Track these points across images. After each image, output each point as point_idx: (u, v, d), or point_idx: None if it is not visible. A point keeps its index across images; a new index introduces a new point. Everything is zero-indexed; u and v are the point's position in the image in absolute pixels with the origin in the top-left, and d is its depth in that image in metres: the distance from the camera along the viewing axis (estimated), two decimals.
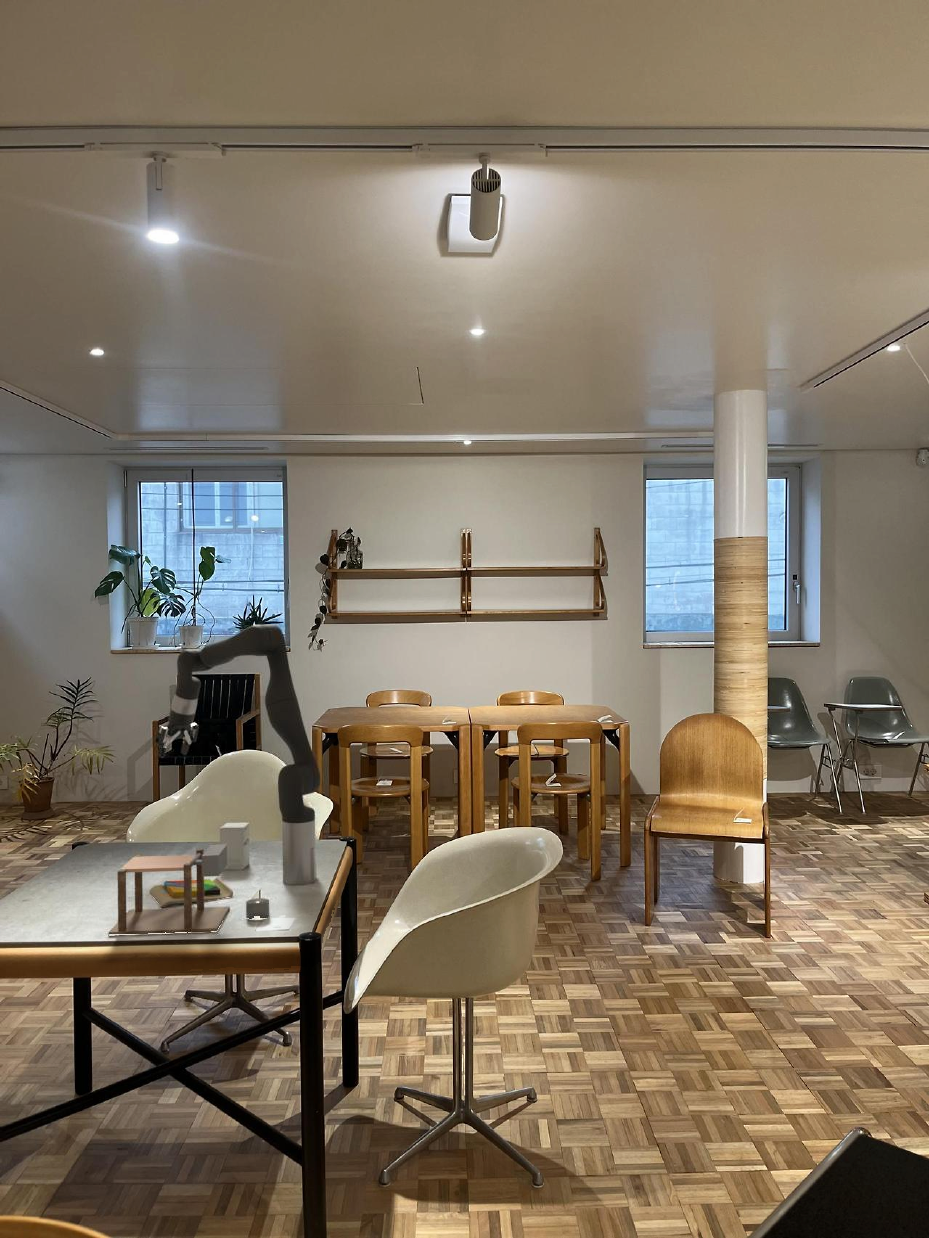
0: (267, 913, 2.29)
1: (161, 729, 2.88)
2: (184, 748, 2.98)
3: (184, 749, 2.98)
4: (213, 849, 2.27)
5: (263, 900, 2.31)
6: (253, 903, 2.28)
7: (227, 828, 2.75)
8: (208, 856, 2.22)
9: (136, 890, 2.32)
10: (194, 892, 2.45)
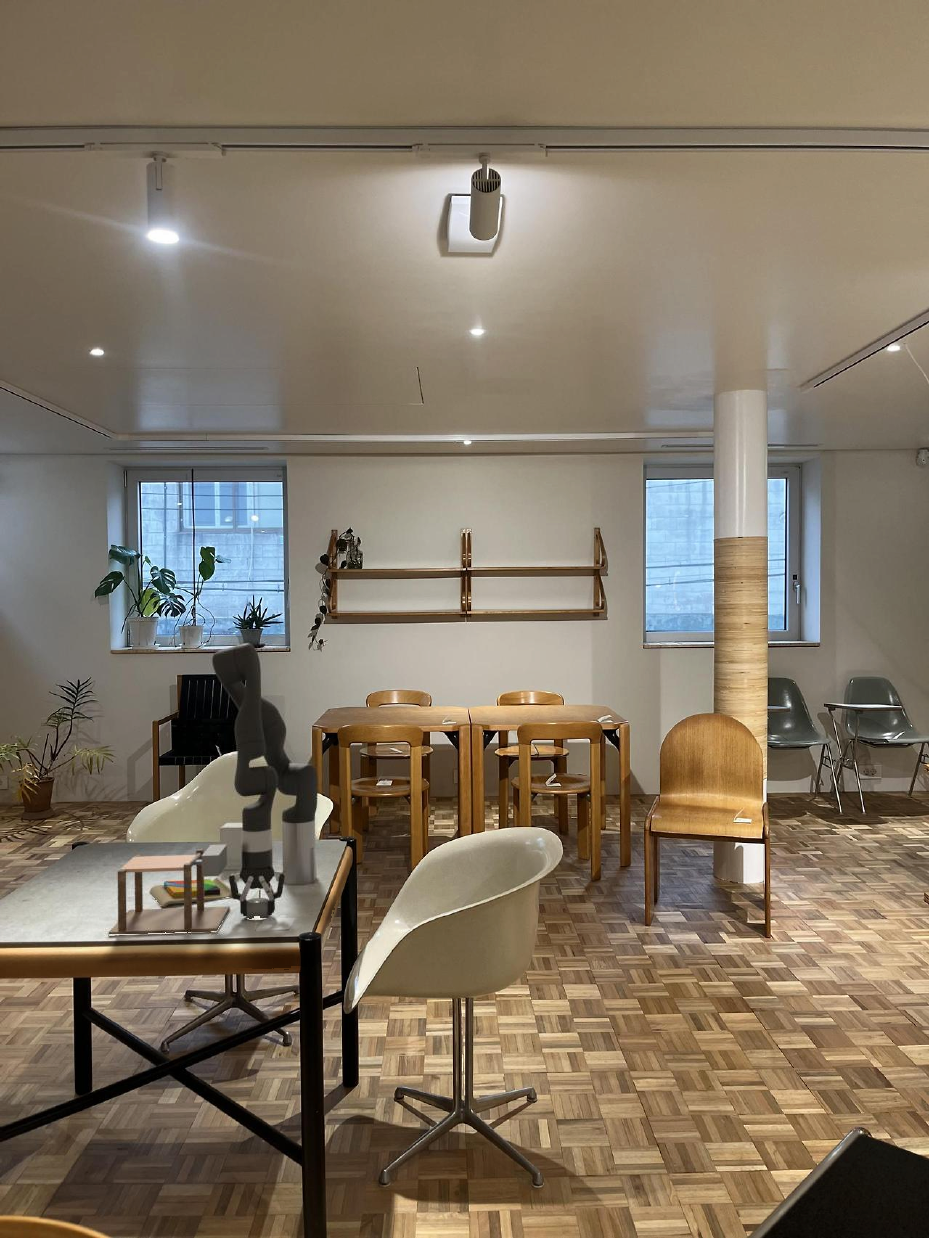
0: (267, 913, 2.29)
1: (284, 874, 2.30)
2: None
3: None
4: (213, 849, 2.27)
5: (263, 900, 2.31)
6: (253, 903, 2.28)
7: (227, 828, 2.75)
8: (208, 856, 2.22)
9: (136, 890, 2.32)
10: (194, 892, 2.45)
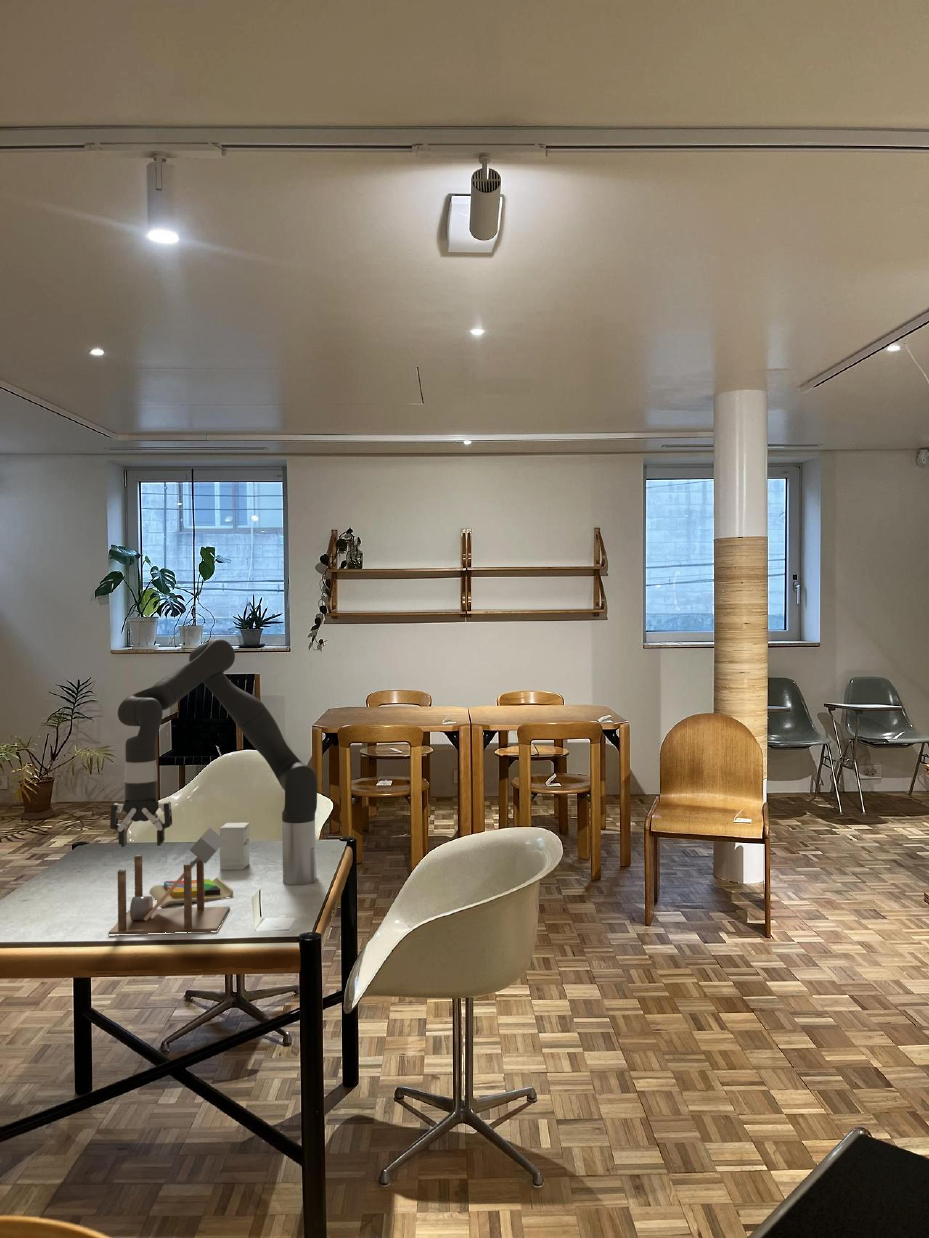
0: (143, 899, 2.24)
1: (169, 804, 2.26)
2: (125, 838, 2.26)
3: (125, 838, 2.26)
4: None
5: None
6: None
7: (227, 828, 2.75)
8: (194, 845, 2.21)
9: (136, 890, 2.32)
10: (194, 892, 2.45)
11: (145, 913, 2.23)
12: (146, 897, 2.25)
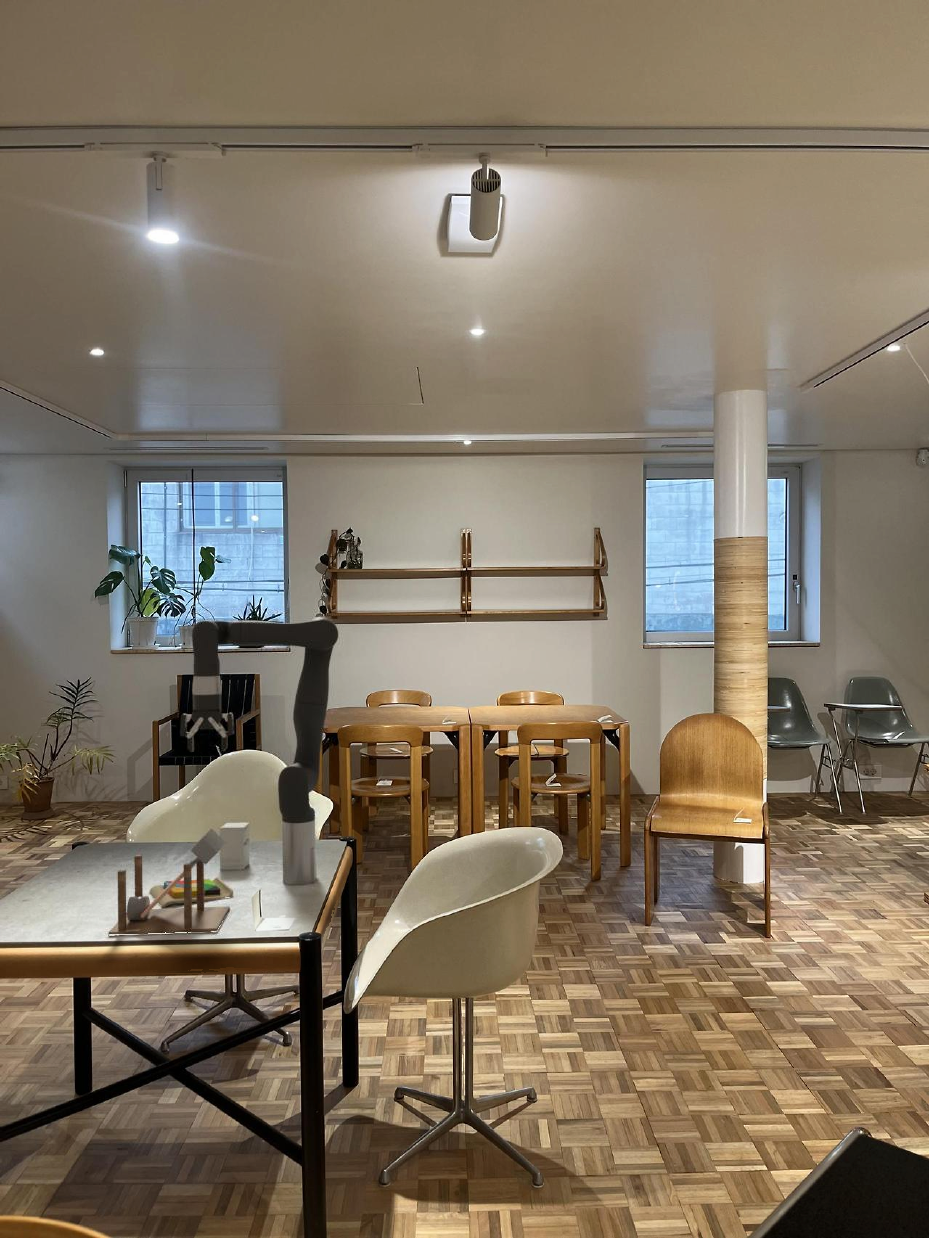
0: (140, 899, 2.24)
1: (232, 714, 2.55)
2: (193, 744, 2.54)
3: (193, 745, 2.55)
4: None
5: None
6: None
7: (227, 828, 2.75)
8: (196, 846, 2.21)
9: (136, 890, 2.32)
10: (194, 892, 2.45)
11: None
12: (143, 897, 2.25)
